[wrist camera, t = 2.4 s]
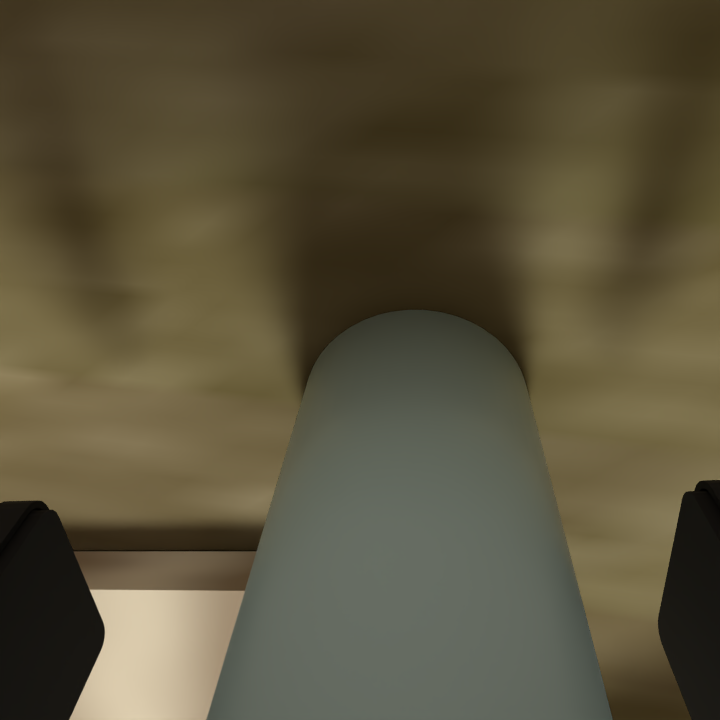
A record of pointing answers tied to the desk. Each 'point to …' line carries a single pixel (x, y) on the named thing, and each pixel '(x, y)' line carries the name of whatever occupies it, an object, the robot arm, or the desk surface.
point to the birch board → (160, 630)
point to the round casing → (412, 546)
